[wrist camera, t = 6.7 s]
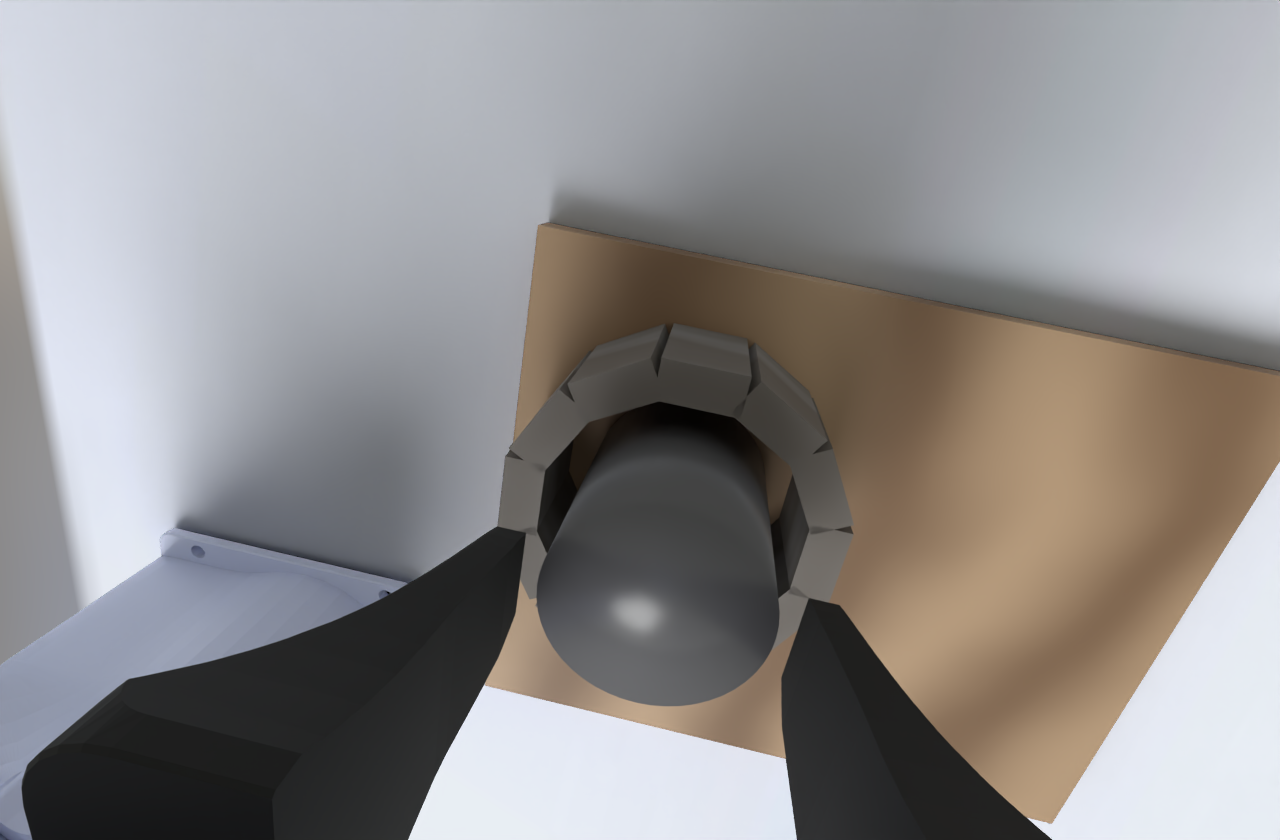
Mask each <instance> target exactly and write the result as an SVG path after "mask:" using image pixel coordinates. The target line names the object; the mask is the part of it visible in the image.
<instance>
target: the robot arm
mask: <svg viewBox="0 0 1280 840" xmlns="http://www.w3.org/2000/svg"><path fill="white" fill-rule="evenodd" d="M525 538H526V533H524V532H520V531H515V530H511V529H507V528H502V527H498V526H497V527H495V528H494V529H492V530H490V531H489V532H487V533H486V534H484V535H483V536H481V537H480V538H478V539H477V540H476V541H474V542H473V543H471V544H470V545H468V546H467V547H465V548H464V549H462V550H461V551H459V552H458V553H457V554H455V555H454V556H452V557H451V558H449V559H447V560H446V561H444V562H443V563H441V564H440V565H438V566H436V567H435V568H433V569H432V570H430V571H429V572H427V573H426V574H424V575H422V576H421V577H419V578H417V579H416V580H414V581H412V582H410V583H405V582H401V581H397V580H393V579H389V578H384V577H380V576H376V575H372V574H368V573H363V572H359V571H355V570H351V569H346V568H342V567H338V566H334V565H330V564H325V563H321V562H317V561H313V560H308V559H304V558H300V557H296V556H291V555H287V554H283V553H279V552H275V551H270V550H266V549H262V548H258V547H253V546H249V545H245V544H241V543H237V542H232V541H228V540H224V539H220V538H215V537H211V536H207V535H203V534H198V533H194V532H190V531H186V530H182V529H174V528H173V529H171V530H169V531H167V532H166V533H164V534H163V535H162V536H161V537H160V547H161V555H162V556H161V557H160V558H158V559H157V560H155V561H154V562H152V563H151V564H149V565H148V566H146V567H145V568H143V569H142V570H140V571H139V572H137V573H136V574H134V575H133V576H131V577H130V578H128V579H127V580H125V581H124V582H122V583H121V584H119V585H118V586H116V587H115V588H113V589H112V590H110V591H109V592H107V593H106V594H104V595H103V596H102V597H100V598H99V599H97V600H96V601H94V602H93V603H91V604H90V605H88V606H87V607H85V608H84V609H82V610H81V611H79V612H78V613H76V614H75V615H73V616H72V617H70V618H69V619H67V620H66V621H64V622H63V623H62V624H60V625H59V626H57V627H55V628H54V629H53V630H51V631H49V632H48V633H47V634H45V635H44V636H42V637H41V638H39V639H38V640H36V641H35V642H33V643H32V644H30V645H29V646H27V647H26V648H24V649H23V650H22V651H20V652H18V653H17V654H15V655H14V656H12V657H11V658H9V659H8V660H6V661H5V662H4V663H3V664H1V665H0V840H408V838H409V836H410V833H411V831H412V829H413V826H414V824H415V822H416V819H417V817H418V815H419V812H420V810H421V808H422V805H423V803H424V801H425V798H426V796H427V794H428V791H429V789H430V787H431V784H432V782H433V780H434V778H435V775H436V773H437V771H438V769H439V767H440V765H441V763H442V761H443V759H444V757H445V755H446V753H447V752H448V750H449V748H450V746H451V744H452V742H453V741H454V739H455V737H456V735H457V733H458V731H459V730H460V728H461V726H462V724H463V722H464V720H465V719H466V717H467V715H468V713H469V711H470V709H471V708H472V706H473V704H474V702H475V700H476V699H477V697H478V695H479V693H480V691H481V689H482V687H483V686H484V684H485V682H486V680H487V678H488V676H489V674H490V673H491V671H492V669H493V667H494V665H495V663H496V661H497V659H498V657H499V655H500V652H501V650H502V647H503V645H504V643H505V640H506V638H507V635H508V632H509V630H510V627H511V625H512V622H513V619H514V617H515V614H516V607H517V599H518V592H519V584H520V576H521V569H522V561H523V554H524V546H525ZM385 590H386V591H388V592H390V593H391V594H389V595H388V594H387V593H386V592H385ZM781 711H782V732H783V740H784V748H785V755H786V763H787V770H788V778H789V785H790V792H791V799H792V806H793V814H794V821H795V828H796V835H797V840H1052V839H1051V838H1050V837H1048V836H1047V835H1046V834H1045V833H1044V832H1042V831H1041V830H1040V829H1039V828H1038V827H1036V826H1035V825H1034V824H1033V823H1032V822H1031V821H1030V820H1029V819H1027V818H1026V817H1025V816H1024V815H1023V814H1022V813H1021V812H1020V811H1018V810H1017V809H1016V808H1015V807H1014V806H1013V805H1012V804H1011V803H1009V802H1008V801H1007V800H1006V799H1005V798H1004V797H1003V796H1002V795H1001V794H999V793H998V792H997V791H996V790H995V789H994V788H993V787H992V786H991V785H990V784H989V783H988V782H987V781H986V780H985V779H984V778H983V777H982V776H981V775H980V774H979V773H978V772H977V771H976V770H975V769H974V768H973V767H972V766H971V765H970V764H969V763H968V762H967V761H966V760H965V759H964V758H963V757H962V756H961V755H960V754H959V753H958V752H957V751H956V750H955V749H954V748H953V747H952V746H951V745H950V744H949V743H948V741H947V740H946V739H945V738H944V737H943V736H942V735H941V734H940V733H939V732H938V731H937V729H936V728H935V727H934V726H933V725H932V724H931V722H930V721H929V720H928V719H927V718H926V717H925V715H924V714H923V713H922V712H921V711H920V710H919V708H918V707H917V706H916V705H915V704H914V703H913V701H912V700H911V699H910V698H909V696H908V695H907V694H906V693H905V691H904V690H903V689H902V688H901V686H900V685H899V684H898V683H897V681H896V680H895V679H894V678H893V676H892V675H891V674H890V672H889V671H888V670H887V668H886V667H885V666H884V664H883V663H882V662H881V660H880V659H879V658H878V656H877V655H876V654H875V652H874V651H873V650H872V648H871V647H870V645H869V644H868V643H867V641H866V640H865V639H864V637H863V636H862V634H861V633H860V632H859V630H858V629H857V628H856V626H855V625H854V623H853V622H852V621H851V619H850V618H849V617H848V615H847V614H846V613H845V611H844V610H843V609H842V607H841V606H840V605H837V604H833V603H829V602H824V601H820V600H816V599H811V598H809V599H808V602H807V605H806V607H805V610H804V613H803V616H802V619H801V622H800V625H799V628H798V631H797V634H796V636H795V639H794V642H793V645H792V648H791V651H790V654H789V657H788V660H787V662H786V665H785V668H784V671H783V674H782V677H781Z"/></svg>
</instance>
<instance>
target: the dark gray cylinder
mask: <svg viewBox="0 0 1280 840" xmlns="http://www.w3.org/2000/svg"><path fill="white" fill-rule="evenodd" d="M536 599H537V608H538V613H539V617H540V621H541V624H542V627H543V629H544V632H545V634H546V636H547V638H548V640H549V642H550V643H551V645H552V647H553V648H554V650H555V651H556V652H557V654H558V655H559V656H560V658H561V659H562V660H563V661H564V662H565V663H566V664H567V665H568V666H569V667H570V668H571V669H572V670H573V671H574V672H576V673H577V674H578V675H579V676H580V677H582V678H583V679H584V680H586V681H587V682H589V683H590V684H592V685H594V686H595V687H597V688H599V689H601V690H603V691H605V692H607V693H609V694H611V695H614V696H616V697H619V698H622V699H625V700H628V701H632V702H635V703H641V704H646V705H653V706H685V705H693V704H698V703H702V702H706V701H710V700H712V699H715V698H718V697H721V696H723V695H725V694H727V693H729V692H731V691H733V690H735V689H736V688H738V687H739V686H740V685H742V684H743V683H745V682H746V681H747V680H748V679H749V678H751V677H752V676H753V675H754V674H755V673H756V672H757V671H758V669H759V668H760V667H761V666H762V665H763V663H764V662H765V660H766V659H767V657H768V655H769V654H770V652H771V650H772V648H773V645H774V643H775V640H776V637H777V632H778V628H779V616H780V610H779V601H778V592H777V582H776V573H775V564H774V554H773V545H772V536H771V527H770V517H769V508H768V499H767V490H766V480H765V471H764V464H763V460H762V456H761V453H760V451H759V448H758V446H757V444H756V442H755V440H754V439H753V437H752V435H751V434H750V433H749V432H748V430H747V429H746V428H745V427H744V426H743V425H742V424H741V423H740V422H739V421H738V420H737V419H736V418H734V417H729V416H725V415H720V414H716V413H711V412H706V411H702V410H697V409H692V408H688V407H683V406H679V405H674V404H669V403H665V402H660V401H658V402H655V403H652V404H648V405H645V406H642V407H638V408H635V409H632V410H630V411H629V412H627V413H626V414H625V415H623V416H622V417H621V418H620V419H619V420H618V421H617V422H616V423H615V424H614V425H613V426H612V427H611V429H610V430H609V431H608V432H607V434H606V436H605V438H604V440H603V441H602V443H601V445H600V447H599V449H598V452H597V454H596V456H595V458H594V460H593V462H592V464H591V466H590V468H589V470H588V472H587V474H586V476H585V478H584V480H583V482H582V484H581V486H580V488H579V490H578V492H577V494H576V496H575V498H574V500H573V502H572V504H571V507H570V509H569V511H568V513H567V515H566V517H565V519H564V521H563V523H562V525H561V527H560V529H559V531H558V533H557V535H556V537H555V539H554V541H553V543H552V545H551V547H550V549H549V551H548V553H547V555H546V557H545V559H544V562H543V565H542V567H541V570H540V573H539V578H538V583H537V596H536Z"/></svg>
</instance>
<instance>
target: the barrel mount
mask: <svg viewBox="0 0 1280 840" xmlns="http://www.w3.org/2000/svg"><path fill="white" fill-rule="evenodd" d="M658 401H660V402H665V403H669V404H674V405H679V406H683V407H688V408H692V409H697V410H702V411H706V412H711V413H716V414H720V415H725V416H729V417H734V418H736V419H737V420H738V421H739V422H740V423H741V424H742V425H743V426H744V427H745V428H746V429H747V430H748V432H749V433H750V434H751V435H752V437H753V439H754V440H755V442H756V444H757V446H758V448H759V451H760V453H761V456H762V460H763V464H764V471H765V480H766V490H767V499H768V508H769V517H770V527H771V536H772V545H773V554H774V564H775V573H776V582H777V592H778V601H779V610H780V616H779V628H778V632H777V637H776V640H775V643H774V645H773V648H772V650H771V652H770V654H769V655H768V657H767V659H766V660H765V662H764V663H763V665H762V666H761V667H760V668H759V669H758V671H757V672H756V673H755V674H754V675H753V676H752V677H751V678H749V679H748V680H747V681H746V682H745V683H743V684H742V685H740V686H739V687H738V688H736V689H735V690H733V691H731V692H729V693H727V694H725V695H723V696H721V697H718V698H715V699H712V700H710V701H706V702H702V703H698V704H693V705H685V706H653V705H646V704H641V703H635V702H632V701H628V700H625V699H622V698H619V697H616V696H614V695H611V694H609V693H607V692H605V691H603V690H601V689H599V688H597V687H595V686H594V685H592V684H590V683H589V682H587V681H586V680H584V679H583V678H582V677H580V676H579V675H578V674H577V673H576V672H574V671H573V670H572V669H571V668H570V667H569V666H568V665H567V664H566V663H565V662H564V661H563V660H562V659H561V658H560V656H559V655H558V654H557V652H556V651H555V650H554V648H553V647H552V645H551V643H550V642H549V640H548V638H547V636H546V634H545V632H544V629H543V627H542V624H541V621H540V617H539V613H538V608H537V599H536V596H537V583H538V578H539V573H540V570H541V567H542V565H543V562H544V559H545V557H546V555H547V553H548V551H549V549H550V547H551V545H552V543H553V541H554V539H555V537H556V535H557V533H558V531H559V529H560V527H561V525H562V523H563V521H564V519H565V517H566V515H567V513H568V511H569V509H570V507H571V504H572V502H573V500H574V498H575V496H576V494H577V492H578V490H579V488H580V486H581V484H582V482H583V480H584V478H585V476H586V474H587V472H588V470H589V468H590V466H591V464H592V462H593V460H594V458H595V456H596V454H597V452H598V449H599V447H600V445H601V443H602V441H603V440H604V438H605V436H606V434H607V432H608V431H609V430H610V429H611V427H612V426H613V425H614V424H615V423H616V422H617V421H618V420H619V419H620V418H621V417H622V416H623V415H625V414H626V413H627V412H629V411H630V410H632V409H635V408H638V407H642V406H645V405H648V404H652V403H655V402H658ZM509 449H510V451H509V452H508V454H507V455H506V456H505V464H504V473H503V482H502V491H501V500H500V509H499V518H498V527H502V528H507V529H511V530H515V531H520V532H524V533H526V538H525V546H524V554H523V561H522V569H521V576H520V584H519V592H518V599H517V607H516V614H515V617H514V619H513V622H512V625H511V627H510V630H509V632H508V635H507V638H506V640H505V643H504V645H503V647H502V650H501V652H500V655H499V657H498V659H497V661H496V663H495V665H494V667H493V669H492V671H491V673H490V674H489V676H488V678H487V680H486V682H485V686H490V687H494V688H498V689H502V690H506V691H510V692H514V693H518V694H522V695H527V696H531V697H535V698H539V699H543V700H547V701H551V702H555V703H559V704H563V705H568V706H572V707H576V708H580V709H584V710H588V711H592V712H596V713H600V714H604V715H609V716H613V717H617V718H621V719H625V720H629V721H633V722H637V723H641V724H645V725H650V726H654V727H658V728H662V729H666V730H670V731H674V732H678V733H682V734H686V735H691V736H695V737H699V738H703V739H707V740H711V741H715V742H719V743H723V744H727V745H732V746H736V747H740V748H744V749H748V750H752V751H756V752H760V753H764V754H769V755H773V756H777V757H781V758H785V759H786V755H785V748H784V740H783V732H782V711H781V677H782V674H783V671H784V668H785V665H786V662H787V660H788V657H789V654H790V651H791V648H792V645H793V642H794V639H795V636H796V634H797V631H798V628H799V625H800V622H801V619H802V616H803V613H804V610H805V607H806V605H807V602H808V599H809V598H811V599H816V600H820V601H824V602H829V603H833V604H837V605H840V606H841V607H842V609H843V610H844V611H845V613H846V614H847V615H848V617H849V618H850V619H851V621H852V622H853V623H854V625H855V626H856V628H857V629H858V630H859V632H860V633H861V634H862V636H863V637H864V639H865V640H866V641H867V643H868V644H869V645H870V647H871V648H872V650H873V651H874V652H875V654H876V655H877V656H878V658H879V659H880V660H881V662H882V663H883V664H884V666H885V667H886V668H887V670H888V671H889V672H890V674H891V675H892V676H893V678H894V679H895V680H896V681H897V683H898V684H899V685H900V686H901V688H902V689H903V690H904V691H905V693H906V694H907V695H908V696H909V698H910V699H911V700H912V701H913V703H914V704H915V705H916V706H917V707H918V708H919V710H920V711H921V712H922V713H923V714H924V715H925V717H926V718H927V719H928V720H929V721H930V722H931V724H932V725H933V726H934V727H935V728H936V729H937V731H938V732H939V733H940V734H941V735H942V736H943V737H944V738H945V739H946V740H947V741H948V743H949V744H950V745H951V746H952V747H953V748H954V749H955V750H956V751H957V752H958V753H959V754H960V755H961V756H962V757H963V758H964V759H965V760H966V761H967V762H968V763H969V764H970V765H971V766H972V767H973V768H974V769H975V770H976V771H977V772H978V773H979V774H980V775H981V776H982V777H983V778H984V779H985V780H986V781H987V782H988V783H989V784H990V785H991V786H992V787H993V788H994V789H995V790H996V791H997V792H998V793H999V794H1001V795H1002V796H1003V797H1004V798H1005V799H1006V800H1007V801H1008V802H1009V803H1011V804H1012V805H1013V806H1014V807H1015V808H1016V809H1017V810H1018V811H1020V812H1021V813H1022V814H1023V815H1024V816H1025V817H1027V818H1031V819H1035V820H1039V821H1043V822H1047V823H1053V821H1054V819H1055V818H1056V816H1057V815H1058V813H1059V811H1060V810H1061V808H1062V807H1063V805H1064V804H1065V802H1066V800H1067V799H1068V797H1069V796H1070V794H1071V792H1072V791H1073V789H1074V788H1075V786H1076V784H1077V783H1078V781H1079V780H1080V778H1081V776H1082V775H1083V773H1084V772H1085V770H1086V769H1087V767H1088V765H1089V764H1090V762H1091V761H1092V759H1093V757H1094V756H1095V754H1096V753H1097V751H1098V749H1099V748H1100V746H1101V745H1102V743H1103V741H1104V740H1105V738H1106V737H1107V735H1108V734H1109V732H1110V730H1111V729H1112V727H1113V726H1114V724H1115V722H1116V721H1117V719H1118V718H1119V716H1120V714H1121V713H1122V711H1123V710H1124V708H1125V706H1126V705H1127V703H1128V702H1129V700H1130V699H1131V697H1132V695H1133V694H1134V692H1135V691H1136V689H1137V687H1138V686H1139V684H1140V683H1141V681H1142V679H1143V678H1144V676H1145V675H1146V673H1147V672H1148V670H1149V668H1150V667H1151V665H1152V664H1153V662H1154V660H1155V659H1156V657H1157V656H1158V654H1159V652H1160V651H1161V649H1162V648H1163V646H1164V644H1165V643H1166V641H1167V640H1168V638H1169V637H1170V635H1171V633H1172V632H1173V630H1174V629H1175V627H1176V625H1177V624H1178V622H1179V621H1180V619H1181V617H1182V616H1183V614H1184V613H1185V611H1186V609H1187V608H1188V606H1189V605H1190V603H1191V602H1192V600H1193V598H1194V597H1195V595H1196V594H1197V592H1198V590H1199V589H1200V587H1201V586H1202V584H1203V582H1204V581H1205V579H1206V578H1207V576H1208V574H1209V573H1210V571H1211V570H1212V568H1213V567H1214V565H1215V563H1216V562H1217V560H1218V559H1219V557H1220V555H1221V554H1222V552H1223V551H1224V549H1225V547H1226V546H1227V544H1228V543H1229V541H1230V539H1231V538H1232V536H1233V535H1234V533H1235V532H1236V530H1237V528H1238V527H1239V525H1240V524H1241V522H1242V520H1243V519H1244V517H1245V516H1246V514H1247V512H1248V511H1249V509H1250V508H1251V506H1252V505H1253V503H1254V501H1255V500H1256V498H1257V497H1258V495H1259V493H1260V492H1261V490H1262V489H1263V487H1264V485H1265V484H1266V482H1267V481H1268V479H1269V477H1270V476H1271V474H1272V473H1273V471H1274V470H1275V468H1276V466H1277V465H1278V463H1279V462H1280V371H1277V370H1272V369H1267V368H1262V367H1257V366H1252V365H1247V364H1242V363H1237V362H1232V361H1227V360H1223V359H1218V358H1213V357H1208V356H1203V355H1198V354H1193V353H1188V352H1183V351H1178V350H1173V349H1168V348H1163V347H1158V346H1154V345H1149V344H1144V343H1139V342H1134V341H1129V340H1124V339H1119V338H1114V337H1109V336H1104V335H1099V334H1094V333H1089V332H1085V331H1080V330H1075V329H1070V328H1065V327H1060V326H1055V325H1050V324H1045V323H1040V322H1035V321H1030V320H1025V319H1020V318H1016V317H1011V316H1006V315H1001V314H996V313H991V312H986V311H981V310H976V309H971V308H966V307H961V306H956V305H951V304H947V303H942V302H937V301H932V300H927V299H922V298H917V297H912V296H907V295H902V294H897V293H892V292H887V291H882V290H878V289H873V288H868V287H863V286H858V285H853V284H848V283H843V282H838V281H833V280H828V279H823V278H818V277H813V276H809V275H804V274H799V273H794V272H789V271H784V270H779V269H774V268H769V267H764V266H759V265H754V264H749V263H744V262H740V261H735V260H730V259H725V258H720V257H715V256H710V255H705V254H700V253H695V252H690V251H685V250H680V249H675V248H671V247H666V246H661V245H656V244H651V243H646V242H641V241H636V240H631V239H626V238H621V237H616V236H611V235H606V234H602V233H597V232H592V231H587V230H582V229H577V228H572V227H567V226H562V225H557V224H552V223H545V224H541V225H538V230H537V239H536V247H535V256H534V265H533V273H532V282H531V291H530V300H529V308H528V317H527V326H526V334H525V343H524V352H523V360H522V369H521V378H520V387H519V395H518V404H517V413H516V421H515V430H514V439H513V444H512V445H511V446H510V447H509Z"/></svg>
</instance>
